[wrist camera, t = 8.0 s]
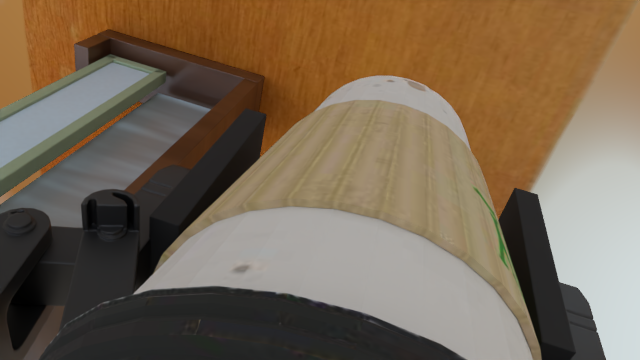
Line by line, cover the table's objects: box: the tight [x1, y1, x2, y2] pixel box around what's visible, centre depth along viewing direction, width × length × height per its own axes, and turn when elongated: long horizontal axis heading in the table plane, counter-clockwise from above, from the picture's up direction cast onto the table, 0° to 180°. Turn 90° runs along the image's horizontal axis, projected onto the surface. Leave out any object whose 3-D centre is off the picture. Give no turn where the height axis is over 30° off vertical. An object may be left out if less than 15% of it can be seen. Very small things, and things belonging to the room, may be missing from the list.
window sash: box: [0, 54, 166, 197], centre depth 30 cm, size 1×5×26 cm, turn 78°
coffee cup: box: [39, 76, 542, 360], centre depth 13 cm, size 10×10×15 cm
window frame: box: [0, 30, 264, 360], centre depth 31 cm, size 5×14×29 cm, turn 77°
